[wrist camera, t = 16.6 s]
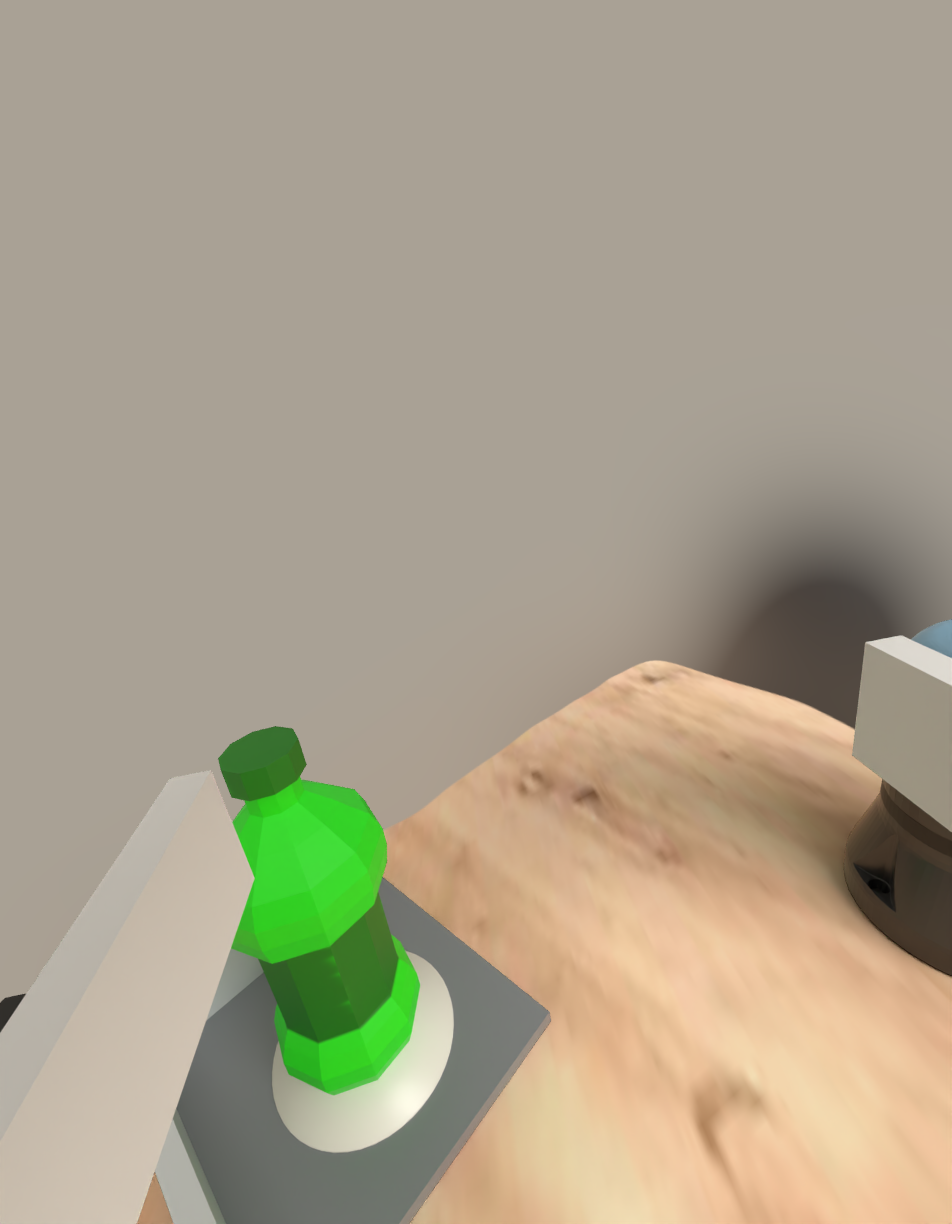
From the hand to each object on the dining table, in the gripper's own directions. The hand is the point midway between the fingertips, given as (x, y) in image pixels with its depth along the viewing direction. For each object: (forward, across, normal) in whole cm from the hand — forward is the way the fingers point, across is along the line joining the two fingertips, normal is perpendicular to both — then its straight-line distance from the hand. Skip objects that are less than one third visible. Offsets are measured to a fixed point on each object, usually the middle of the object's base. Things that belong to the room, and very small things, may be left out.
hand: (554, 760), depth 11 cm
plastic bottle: (+18, -13, -34) cm, 40 cm away
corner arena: (+18, -15, -35) cm, 42 cm away
